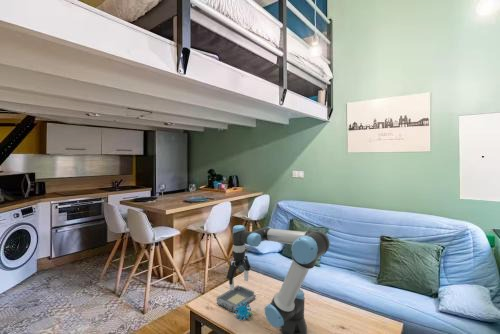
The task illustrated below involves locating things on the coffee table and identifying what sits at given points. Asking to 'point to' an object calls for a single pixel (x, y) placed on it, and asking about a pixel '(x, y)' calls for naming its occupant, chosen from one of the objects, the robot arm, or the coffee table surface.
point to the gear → (243, 311)
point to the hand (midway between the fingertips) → (239, 284)
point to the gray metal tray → (235, 298)
